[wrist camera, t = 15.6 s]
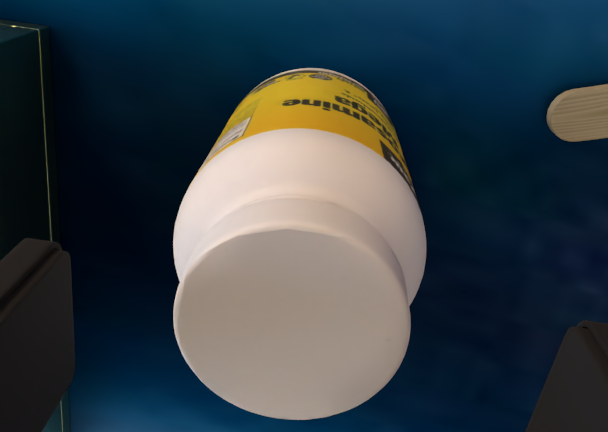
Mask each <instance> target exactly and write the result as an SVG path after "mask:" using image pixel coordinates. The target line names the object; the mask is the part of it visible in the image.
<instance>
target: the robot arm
mask: <svg viewBox="0 0 608 432" xmlns="http://www.w3.org/2000/svg"><path fill="white" fill-rule="evenodd" d="M74 372H75V345H74V322H73V300H72V278H71V259H70V254H69V253H68V252H66V251H62V248H61V245H60V244H59V243H58V242H52V241H45V240H38V239H32V238H25V239H24V240H22V241H21V242H20V243H19V244H18V245H17V246H16V247H15V248H14V249H13V250H12V251H10V252H9V253H8V254H7V255H6V256H5V257H4V258H3V259H2V260H1V261H0V432H42V430H43V429H44V427H45V425H46V424H47V422H48V421H49V419H50V417H51V416H52V414H53V412H54V411H55V409H56V407H57V406H58V404H59V402H60V401H61V399H62V398H63V396H64V394H65V393H66V391H67V389H68V388H69V386H70V384H71V382H72V379H73V376H74ZM526 432H608V324H605V323H599V322H592V321H585V320H584V321H581V322H580V323H579V324H578V325H577V326H576V327H570V328H569V329H568V330H567V332H566V334H565V336H564V339H563V341H562V344H561V346H560V349H559V351H558V353H557V356H556V358H555V361H554V363H553V366H552V368H551V370H550V373H549V375H548V378H547V380H546V383H545V385H544V387H543V390H542V392H541V395H540V397H539V400H538V402H537V405H536V407H535V409H534V412H533V414H532V417H531V419H530V422H529V424H528V426H527V429H526Z"/></svg>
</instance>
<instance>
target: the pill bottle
mask: <svg viewBox="0 0 608 432" xmlns="http://www.w3.org/2000/svg"><path fill="white" fill-rule="evenodd" d="M173 252H174V262H175V267H176V271H177V275H178V278H179V281H180V283H179V286H178V289H177V293H176V297H175V301H174V309H173V321H174V331H175V336H176V339H177V342H178V345H179V348H180V350H181V353H182V355H183V357H184V359H185V361H186V362H187V364H188V365H189V367H190V368H191V369H192V371H193V372H194V373H195V374H196V376H197V377H198V378H199V379H200V380H201V381H202V382H203V383H204V384H205V385H206V386H207V387H208V388H209V389H210V390H212V391H213V392H214V393H216V394H217V395H218V396H220V397H221V398H223V399H224V400H226V401H228V402H230V403H232V404H234V405H236V406H238V407H240V408H242V409H244V410H247V411H249V412H253V413H256V414H260V415H263V416H268V417H273V418H279V419H289V420H309V419H316V418H323V417H328V416H332V415H335V414H338V413H341V412H344V411H347V410H350V409H352V408H354V407H356V406H358V405H360V404H362V403H363V402H365V401H367V400H368V399H370V398H371V397H372V396H374V395H375V394H376V393H377V392H378V391H379V390H381V389H382V388H383V387H384V386H385V385H386V384H387V383H388V382H389V380H390V379H391V378H392V377H393V376H394V374H395V373H396V371H397V370H398V368H399V366H400V364H401V362H402V360H403V358H404V356H405V353H406V350H407V346H408V343H409V338H410V329H411V319H410V308H409V306H410V304H411V303H412V301H413V299H414V297H415V295H416V293H417V291H418V288H419V286H420V283H421V280H422V277H423V273H424V267H425V261H426V235H425V228H424V223H423V218H422V213H421V208H420V205H419V202H418V199H417V196H416V194H415V190H414V188H413V184H412V181H411V178H410V174H409V171H408V168H407V165H406V161H405V158H404V156H403V153H402V150H401V147H400V144H399V141H398V137H397V134H396V131H395V128H394V125H393V123H392V121H391V119H390V117H389V115H388V114H387V112H386V110H385V108H384V107H383V105H382V104H381V103H380V101H379V100H378V99H377V98H376V97H375V96H374V94H373V93H371V92H370V91H369V90H368V89H367V88H366V87H364V86H363V85H362V84H360V83H359V82H357V81H356V80H354V79H352V78H350V77H348V76H346V75H344V74H341V73H338V72H335V71H332V70H327V69H321V68H301V69H295V70H290V71H286V72H283V73H280V74H277V75H275V76H273V77H271V78H269V79H267V80H265V81H264V82H262V83H261V84H259V85H258V86H257V87H255V88H254V89H253V90H252V91H251V92H250V93H249V94H248V95H247V96H246V97H245V98H244V99H243V100H242V101H241V102H240V103H239V104H238V106H237V107H236V109H235V111H234V112H233V114H232V116H231V117H230V119H229V121H228V123H227V124H226V126H225V128H224V130H223V131H222V133H221V135H220V136H219V138H218V139H217V141H216V143H215V145H214V146H213V148H212V150H211V151H210V153H209V155H208V156H207V158H206V160H205V161H204V163H203V165H202V166H201V168H200V169H199V171H198V173H197V174H196V176H195V178H194V179H193V181H192V182H191V184H190V186H189V188H188V190H187V192H186V194H185V196H184V198H183V201H182V203H181V205H180V208H179V211H178V215H177V219H176V222H175V228H174V238H173Z"/></svg>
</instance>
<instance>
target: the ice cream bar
mask: <svg viewBox="0 0 608 432" xmlns="http://www.w3.org/2000/svg"><path fill="white" fill-rule="evenodd" d="M547 124H548V126H549V128H550V130H551V131H552V132H553V133H554V134H556V135H557V136H558V137H559V138H560V139H562V140H565V141H569V142H577V141H585V140H593V139H601V138H608V84H606V85H598V86H591V87H584V88H576V89H571V90H568V91H565V92H563V93H562V94H560V95H558V96H557V97H556V98H555V99H554V100H553V101H552V103H551V105H550V106H549V108H548V112H547Z"/></svg>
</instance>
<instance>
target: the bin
mask: <svg viewBox="0 0 608 432" xmlns="http://www.w3.org/2000/svg"><path fill="white" fill-rule="evenodd" d="M25 238H32V239H38V240H45V241H52V242H58V243H59V244H60V225H59V206H58V187H57V167H56V148H55V129H54V109H53V90H52V71H51V51H50V32H49V27H48V26H43V25H37V24H30V23H23V22H16V21H9V20H3V19H0V261H1V260H2V259H3V258H4V257H5V256H6V255H7V254H8V253H9V252H10V251H12V250H13V249H14V248H15V247H16V246H17V245H18V244H19V243H20V242H21V241H22V240H24V239H25ZM42 432H70V418H69V399H68V389H67V391H66V393H65V394H64V396H63V398H62V399H61V401H60V402H59V404H58V406H57V407H56V409H55V411H54V412H53V414H52V416H51V417H50V419H49V421H48V422H47V424H46V425H45V427H44V429H43V430H42Z"/></svg>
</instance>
